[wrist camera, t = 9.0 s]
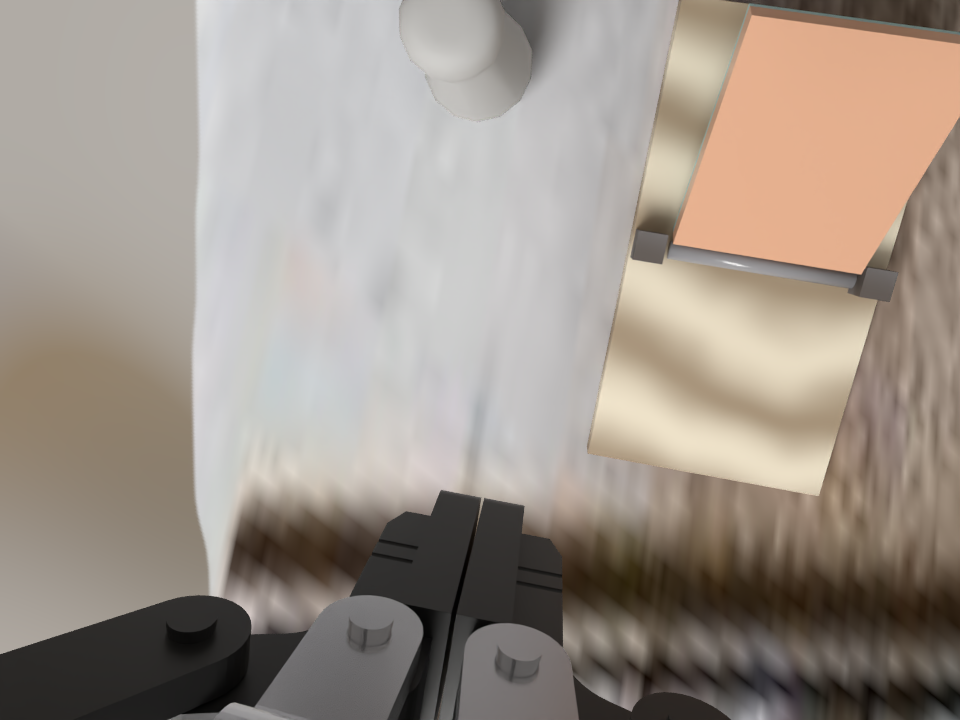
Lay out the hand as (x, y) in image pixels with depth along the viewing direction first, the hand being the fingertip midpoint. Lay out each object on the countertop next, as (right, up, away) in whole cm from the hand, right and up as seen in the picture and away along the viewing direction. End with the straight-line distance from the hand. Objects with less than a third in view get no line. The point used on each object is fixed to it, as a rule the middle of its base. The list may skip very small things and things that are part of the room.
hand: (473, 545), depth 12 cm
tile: (+16, +12, +21) cm, 29 cm away
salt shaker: (0, +20, +28) cm, 34 cm away
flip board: (+16, +9, +28) cm, 33 cm away
